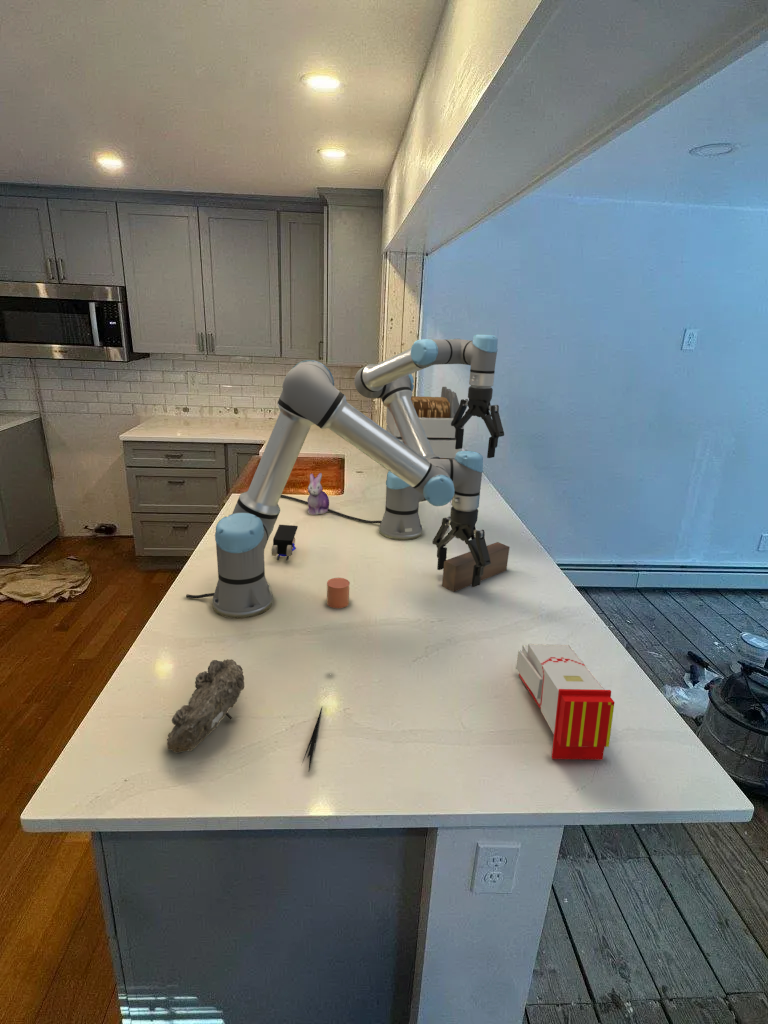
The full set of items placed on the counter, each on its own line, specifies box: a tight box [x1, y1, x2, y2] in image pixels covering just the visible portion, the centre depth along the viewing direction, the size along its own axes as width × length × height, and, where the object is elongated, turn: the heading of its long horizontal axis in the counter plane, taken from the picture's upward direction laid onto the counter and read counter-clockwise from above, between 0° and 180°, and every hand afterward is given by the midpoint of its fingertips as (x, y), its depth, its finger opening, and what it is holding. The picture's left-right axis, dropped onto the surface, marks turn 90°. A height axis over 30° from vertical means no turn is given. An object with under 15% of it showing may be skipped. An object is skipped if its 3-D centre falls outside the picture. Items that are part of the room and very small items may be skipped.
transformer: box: [385, 386, 465, 459], centre depth 268 cm, size 34×33×41 cm
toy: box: [515, 643, 615, 761], centre depth 113 cm, size 12×13×30 cm
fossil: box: [166, 658, 245, 754], centre depth 106 cm, size 22×10×15 cm
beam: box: [441, 541, 510, 593], centre depth 168 cm, size 5×24×8 cm, turn 131°
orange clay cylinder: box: [326, 577, 351, 609], centre depth 151 cm, size 6×6×6 cm
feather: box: [301, 673, 332, 771], centre depth 108 cm, size 2×28×2 cm
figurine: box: [307, 472, 330, 516], centre depth 215 cm, size 9×10×15 cm
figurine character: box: [271, 524, 299, 562], centre depth 178 cm, size 7×8×15 cm
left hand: (458, 577), depth 164 cm, fingers open, 13 cm apart
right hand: (474, 453), depth 184 cm, fingers open, 13 cm apart
